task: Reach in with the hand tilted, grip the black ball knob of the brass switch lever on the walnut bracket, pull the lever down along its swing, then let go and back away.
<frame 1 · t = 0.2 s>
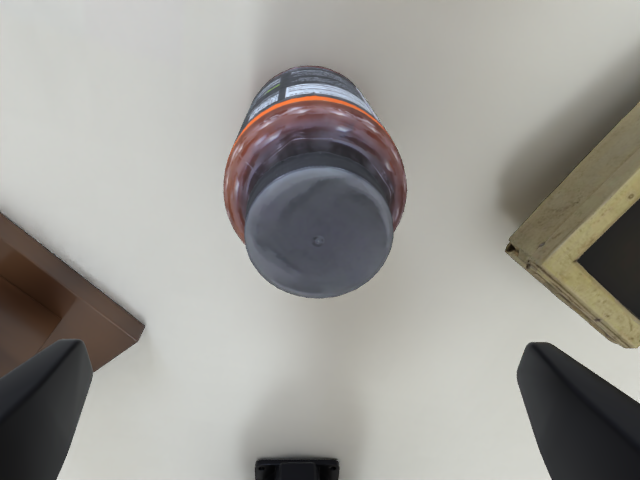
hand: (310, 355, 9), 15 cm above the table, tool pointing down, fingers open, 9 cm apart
supplement bottle: (310, 126, 21), on the table
switch bracket: (15, 301, 26), on the table
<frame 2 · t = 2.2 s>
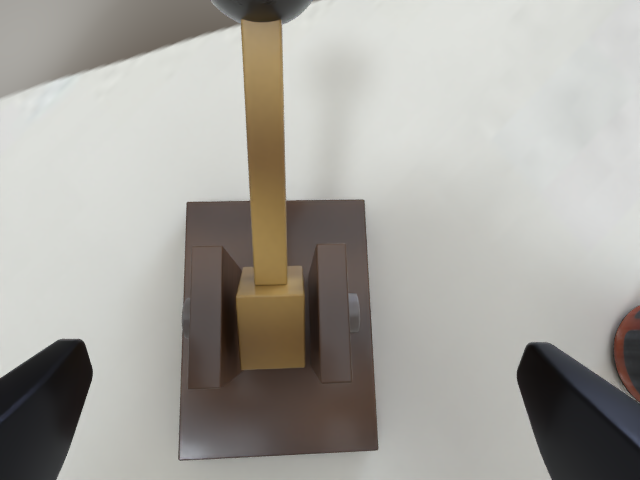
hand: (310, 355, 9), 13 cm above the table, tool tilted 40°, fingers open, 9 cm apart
switch bracket: (279, 321, 22), on the table
lever: (266, 152, 14), point 10 cm above the table, hinge at 32.0°
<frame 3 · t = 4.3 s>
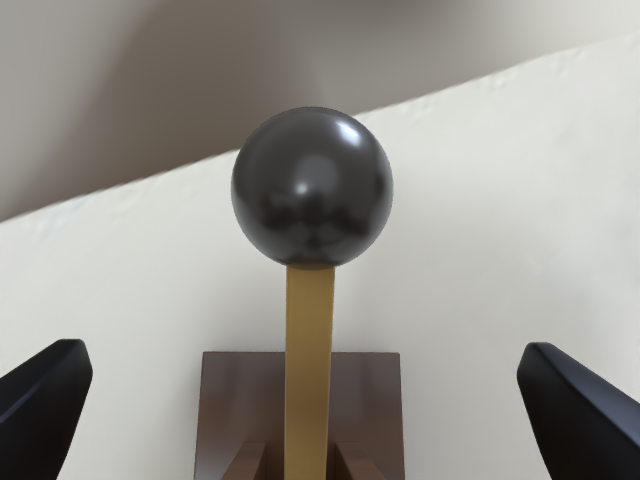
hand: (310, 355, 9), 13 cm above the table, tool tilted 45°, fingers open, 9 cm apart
lever: (306, 392, 11), point 10 cm above the table, hinge at 32.0°
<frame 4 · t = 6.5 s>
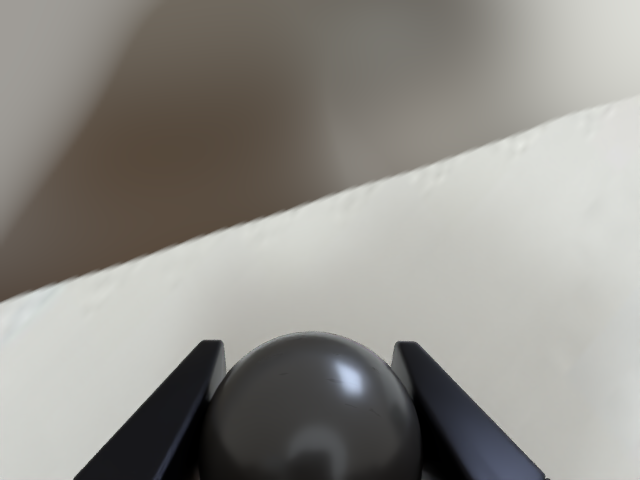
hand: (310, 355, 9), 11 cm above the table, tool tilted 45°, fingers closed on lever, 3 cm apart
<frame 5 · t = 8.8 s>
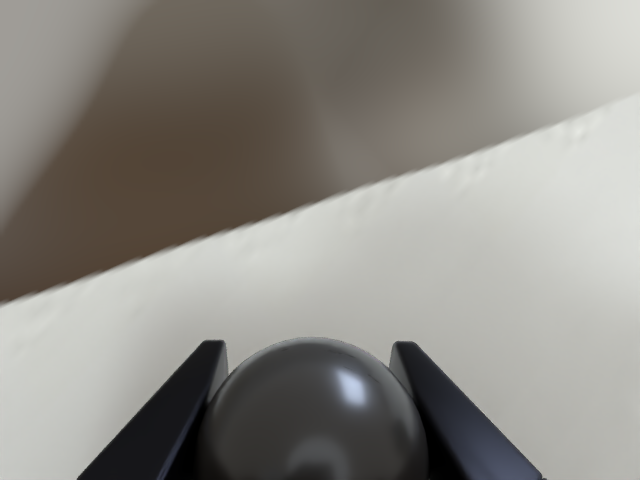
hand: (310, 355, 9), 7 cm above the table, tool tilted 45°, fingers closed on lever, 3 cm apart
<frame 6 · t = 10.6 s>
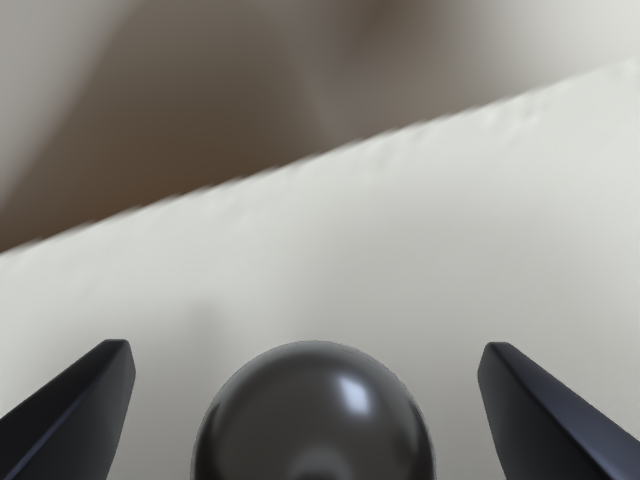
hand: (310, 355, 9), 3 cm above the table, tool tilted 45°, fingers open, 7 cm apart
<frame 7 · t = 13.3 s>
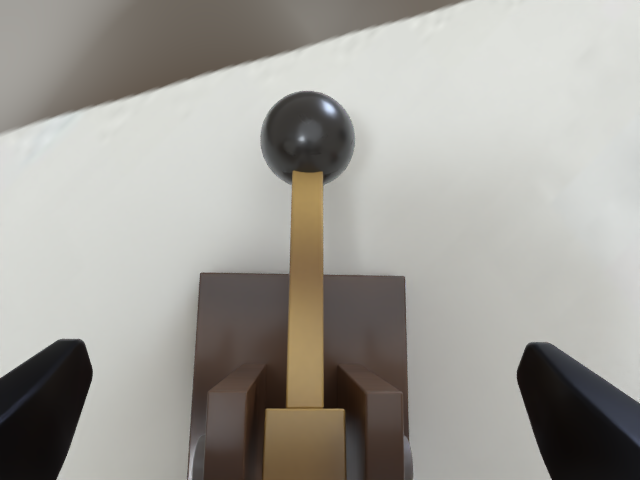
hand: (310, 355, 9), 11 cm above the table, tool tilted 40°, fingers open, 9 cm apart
switch bracket: (300, 412, 19), on the table
lever: (306, 272, 15), point 6 cm above the table, hinge at -11.8°
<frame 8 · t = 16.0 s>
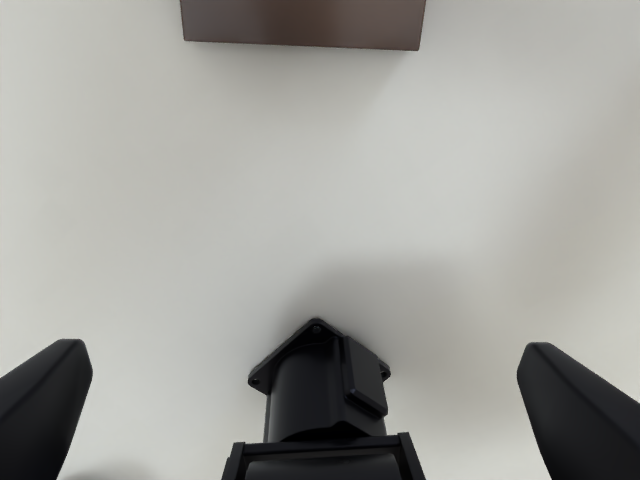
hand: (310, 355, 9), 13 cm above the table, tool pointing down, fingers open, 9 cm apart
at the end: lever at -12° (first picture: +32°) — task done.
